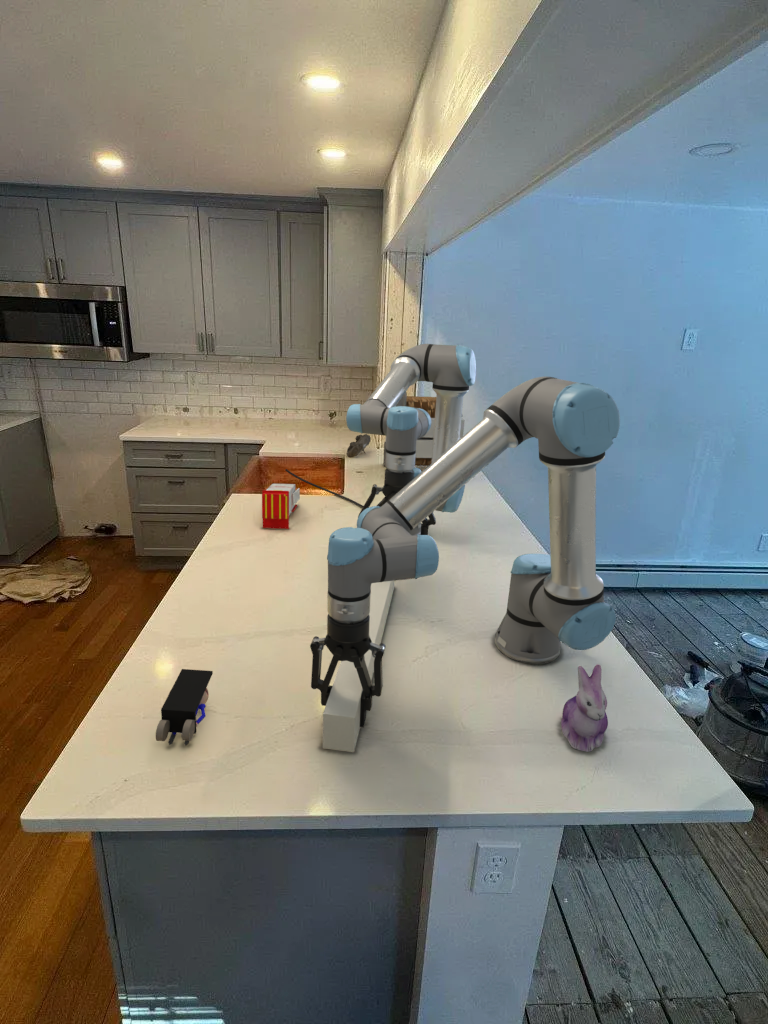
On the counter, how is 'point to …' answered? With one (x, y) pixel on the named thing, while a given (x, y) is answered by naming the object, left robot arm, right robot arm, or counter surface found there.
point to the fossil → (358, 445)
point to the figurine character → (184, 705)
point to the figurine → (586, 712)
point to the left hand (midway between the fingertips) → (395, 546)
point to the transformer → (426, 442)
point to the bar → (354, 680)
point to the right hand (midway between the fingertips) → (346, 720)
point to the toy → (279, 505)
